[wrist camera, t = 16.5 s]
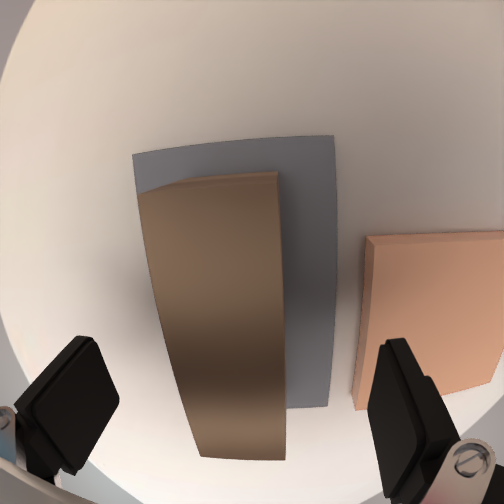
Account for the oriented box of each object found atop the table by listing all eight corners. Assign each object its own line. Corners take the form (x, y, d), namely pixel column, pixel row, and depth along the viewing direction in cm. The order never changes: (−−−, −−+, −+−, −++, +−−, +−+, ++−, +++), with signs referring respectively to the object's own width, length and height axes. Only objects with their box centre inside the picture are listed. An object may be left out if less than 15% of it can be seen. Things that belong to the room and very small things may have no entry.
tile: (374, 245, 12) (355, 410, 16) (531, 237, 11) (490, 382, 14) (363, 233, 14) (350, 388, 17) (511, 228, 13) (478, 365, 16)
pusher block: (186, 178, 13) (137, 194, 8) (277, 171, 13) (276, 182, 8) (217, 390, 17) (200, 456, 12) (286, 391, 16) (285, 460, 12)
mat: (331, 136, 13) (333, 135, 12) (326, 400, 17) (327, 406, 17) (136, 154, 14) (132, 154, 13) (185, 400, 18) (183, 405, 18)
